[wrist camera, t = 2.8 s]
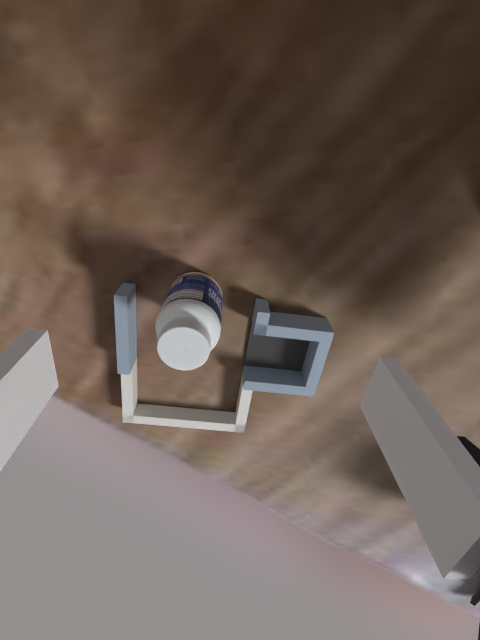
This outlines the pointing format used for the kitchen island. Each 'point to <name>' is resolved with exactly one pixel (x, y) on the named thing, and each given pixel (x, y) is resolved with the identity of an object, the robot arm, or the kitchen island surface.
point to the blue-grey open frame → (263, 324)
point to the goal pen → (181, 410)
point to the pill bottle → (189, 321)
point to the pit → (275, 352)
